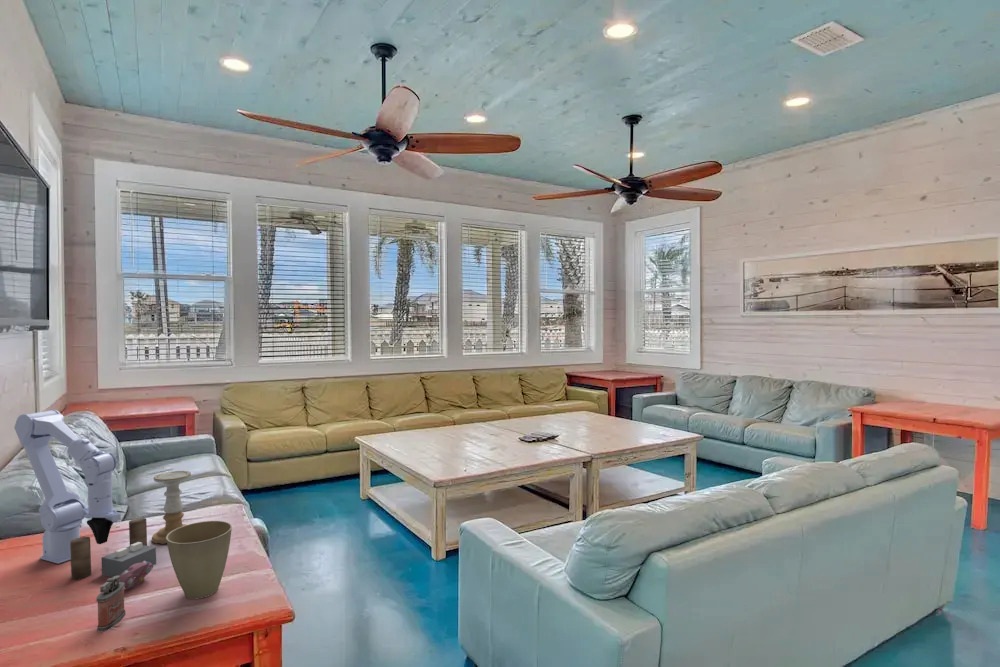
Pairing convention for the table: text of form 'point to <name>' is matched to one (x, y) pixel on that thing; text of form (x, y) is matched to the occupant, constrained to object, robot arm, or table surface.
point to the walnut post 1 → (80, 558)
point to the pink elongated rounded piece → (135, 573)
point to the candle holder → (171, 503)
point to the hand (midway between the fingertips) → (101, 542)
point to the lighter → (110, 603)
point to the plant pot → (199, 556)
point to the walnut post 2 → (138, 531)
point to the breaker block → (127, 558)
